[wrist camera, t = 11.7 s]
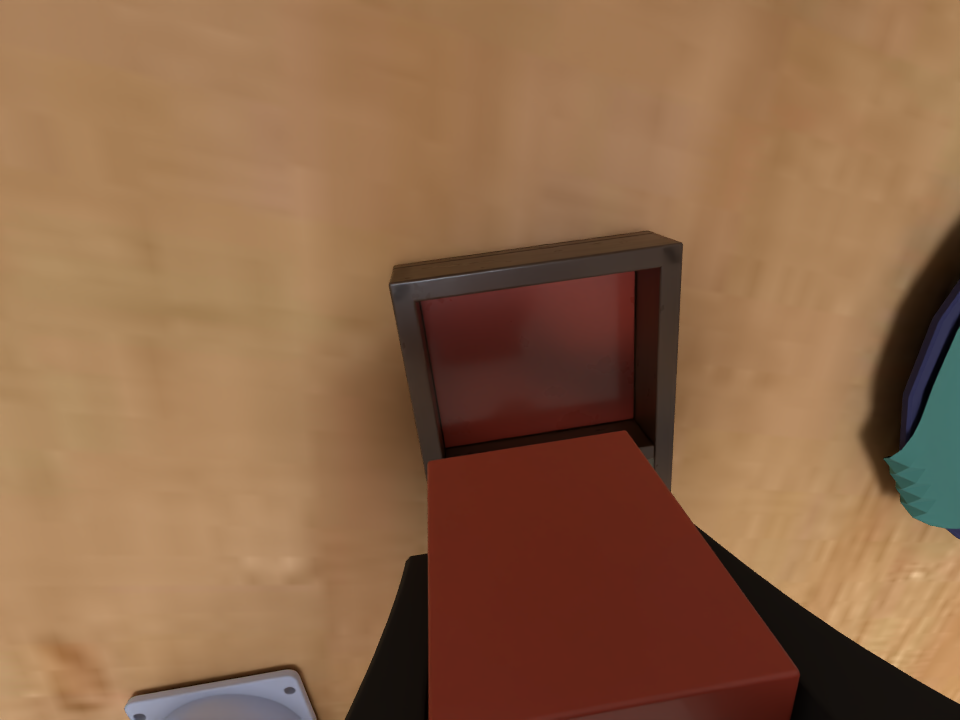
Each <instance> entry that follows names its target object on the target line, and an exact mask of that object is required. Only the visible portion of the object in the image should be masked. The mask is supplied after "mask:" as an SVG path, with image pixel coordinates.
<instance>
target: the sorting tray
mask: <svg viewBox="0 0 960 720" xmlns="http://www.w3.org/2000/svg"><path fill="white" fill-rule="evenodd" d="M682 250H683V244H682V242H679V241H676V240H673V239H670V238H667V237H664V236H661V235H658V234H656V233H653V232H650V231H644V232H637V233H630V234H623V235H615V236H608V237H601V238H593V239H586V240H579V241H571V242H564V243H557V244H550V245H542V246H535V247H528V248H520V249H513V250H506V251H498V252H491V253H484V254H477V255H469V256H462V257H455V258H447V259H440V260H433V261H425V262H418V263H411V264H404V265H396V266H394V267H393V272H392V275H391V279H390V282H389V289H390V294H391V299H392V304H393V309H394V315H395V320H396V325H397V330H398V335H399V340H400V345H401V351H402V356H403V361H404V366H405V371H406V376H407V381H408V387H409V392H410V397H411V402H412V407H413V412H414V418H415V423H416V428H417V433H418V438H419V443H420V448H421V454H422V459H423V464H424V469H425V474H426V479H427V464H428V462H429V461H432V460H438V459H445V458H451V457H457V456H464V455H470V454H477V453H483V452H489V451H496V450H502V449H508V448H515V447H521V446H527V445H534V444H540V443H547V442H553V441H559V440H566V439H572V438H578V437H585V436H591V435H598V434H604V433H610V432H617V431H623V430H625V431H627V432H628V434H629V435H630V436H631V438H632V439H633V441H634V442H635V443H636V445H637V446H638V448H639V449H640V450H641V452H642V453H643V454H644V456H645V457H646V459H647V460H648V461H649V463H650V464H651V466H652V467H653V468H654V470H655V471H656V472H657V474H658V475H659V477H660V478H661V479H662V481H663V482H664V484H665V485H666V486H667V488H668V489H669V491H670V492H671V477H672V456H673V435H674V415H675V394H676V374H677V353H678V332H679V312H680V291H681V271H682Z"/></svg>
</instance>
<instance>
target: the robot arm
mask: <svg viewBox="0 0 960 720" xmlns="http://www.w3.org/2000/svg"><path fill="white" fill-rule="evenodd" d="M694 525H695V524H694ZM695 527H696V528H697V529H698V531H699V532H700V534H701V535H702V536H703V538H704V539H705V540H706V542H707V543H708V545H709V546H710V547H711V549H712V550H713V552H714V553H715V554H716V556H717V557H718V558H719V560H720V561H721V563H722V564H723V565H724V567H725V568H726V570H727V571H728V572H729V574H730V575H731V577H732V578H733V579H734V581H735V582H736V583H737V585H738V586H739V588H740V589H741V590H742V592H743V593H744V595H745V596H746V597H747V599H748V600H749V602H750V603H751V604H752V606H753V607H754V608H755V610H756V611H757V613H758V614H759V615H760V617H761V618H762V620H763V621H764V622H765V624H766V625H767V626H768V628H769V629H770V631H771V632H772V633H773V635H774V636H775V638H776V639H777V640H778V642H779V643H780V645H781V646H782V647H783V649H784V650H785V651H786V653H787V654H788V656H789V657H790V658H791V660H792V661H793V663H794V664H795V665H796V667H797V668H798V670H799V673H800V678H799V683H798V687H797V692H796V696H795V701H794V705H793V710H792V714H791V719H790V720H960V704H958V703H957V702H955V701H953V700H951V699H949V698H947V697H946V696H944V695H942V694H940V693H939V692H937V691H935V690H933V689H932V688H930V687H928V686H926V685H925V684H923V683H921V682H919V681H918V680H916V679H914V678H912V677H911V676H909V675H908V674H906V673H904V672H903V671H901V670H899V669H898V668H896V667H894V666H893V665H891V664H889V663H888V662H886V661H885V660H883V659H881V658H880V657H878V656H876V655H875V654H873V653H871V652H870V651H868V650H866V649H865V648H863V647H862V646H860V645H859V644H857V643H855V642H854V641H852V640H851V639H849V638H848V637H846V636H845V635H843V634H842V633H840V632H838V631H837V630H836V629H834V628H833V627H831V626H830V625H828V624H827V623H825V622H824V621H822V620H821V619H819V618H818V617H816V616H815V615H814V614H812V613H811V612H809V611H808V610H806V609H805V608H803V607H802V606H801V605H799V604H798V603H796V602H795V601H794V600H792V599H791V598H789V597H788V596H787V595H785V594H784V593H782V592H781V591H780V590H778V589H777V588H776V587H774V586H773V585H772V584H770V583H769V582H768V581H766V580H765V579H764V578H762V577H761V576H760V575H758V574H757V573H756V572H754V571H753V570H752V569H750V568H749V567H748V566H746V565H745V564H744V563H743V562H741V561H740V560H739V559H737V558H736V557H735V556H734V555H732V554H731V553H730V552H729V551H727V550H726V549H725V548H723V547H722V546H721V545H720V544H718V543H717V542H716V541H715V540H713V539H712V538H711V537H710V536H708V535H707V534H706V533H705V532H703V531H702V530H701V529H700V528H698V527H697V526H696V525H695ZM124 709H125V712H126V713H127V715H128V717H129V718H130V720H317V718H316V716H315V713H314V711H313V708H312V706H311V703H310V701H309V698H308V696H307V693H306V691H305V688H304V686H303V683H302V681H301V678H300V676H299V674H298V673H297V672H296V671H295V670H291V669H286V670H280V671H275V672H269V673H263V674H258V675H252V676H246V677H240V678H235V679H229V680H223V681H218V682H212V683H206V684H200V685H195V686H189V687H183V688H178V689H172V690H166V691H160V692H155V693H149V694H143V695H138V696H134V697H131V698H130V699H129V700H128V702H127V704H126V706H125V708H124ZM345 720H428V554H422V555H416V556H410V558H409V559H408V560H407V561H406V563H405V567H404V572H403V575H402V579H401V582H400V585H399V589H398V592H397V595H396V598H395V601H394V604H393V607H392V609H391V612H390V615H389V618H388V621H387V623H386V626H385V628H384V631H383V633H382V636H381V638H380V641H379V643H378V646H377V648H376V651H375V654H374V656H373V658H372V661H371V663H370V666H369V668H368V670H367V672H366V675H365V677H364V679H363V681H362V683H361V686H360V688H359V690H358V692H357V694H356V696H355V699H354V701H353V703H352V705H351V707H350V710H349V712H348V714H347V716H346V718H345Z"/></svg>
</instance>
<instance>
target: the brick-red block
mask: <svg viewBox="0 0 960 720" xmlns="http://www.w3.org/2000/svg"><path fill="white" fill-rule="evenodd" d="M427 484H428V720H790V719H791V714H792V710H793V705H794V701H795V696H796V692H797V687H798V683H799V678H800V673H799V670H798V668H797V667H796V665H795V664H794V663H793V661H792V660H791V658H790V657H789V656H788V654H787V653H786V651H785V650H784V649H783V647H782V646H781V645H780V643H779V642H778V640H777V639H776V638H775V636H774V635H773V633H772V632H771V631H770V629H769V628H768V626H767V625H766V624H765V622H764V621H763V620H762V618H761V617H760V615H759V614H758V613H757V611H756V610H755V608H754V607H753V606H752V604H751V603H750V602H749V600H748V599H747V597H746V596H745V595H744V593H743V592H742V590H741V589H740V588H739V586H738V585H737V583H736V582H735V581H734V579H733V578H732V577H731V575H730V574H729V572H728V571H727V570H726V568H725V567H724V565H723V564H722V563H721V561H720V560H719V558H718V557H717V556H716V554H715V553H714V552H713V550H712V549H711V547H710V546H709V545H708V543H707V542H706V540H705V539H704V538H703V536H702V535H701V534H700V532H699V531H698V529H697V528H696V527H695V525H694V524H693V522H692V521H691V520H690V518H689V517H688V515H687V514H686V513H685V511H684V510H683V509H682V507H681V506H680V504H679V503H678V502H677V500H676V499H675V497H674V496H673V495H672V493H671V492H670V491H669V489H668V488H667V486H666V485H665V484H664V482H663V481H662V479H661V478H660V477H659V475H658V474H657V472H656V471H655V470H654V468H653V467H652V466H651V464H650V463H649V461H648V460H647V459H646V457H645V456H644V454H643V453H642V452H641V450H640V449H639V448H638V446H637V445H636V443H635V442H634V441H633V439H632V438H631V436H630V435H629V434H628V432H627V431H625V430H623V431H617V432H610V433H604V434H598V435H591V436H585V437H578V438H572V439H566V440H559V441H553V442H547V443H540V444H534V445H527V446H521V447H515V448H508V449H502V450H496V451H489V452H483V453H477V454H470V455H464V456H457V457H451V458H445V459H438V460H432V461H429V462H428V464H427Z"/></svg>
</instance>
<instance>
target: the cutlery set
mask: <svg viewBox="0 0 960 720" xmlns="http://www.w3.org/2000/svg"><path fill="white" fill-rule="evenodd" d="M883 459H884V460H885V461H886V462H887V464H888V465H889V470H890V474H891V476H892V477H893V478H894V480H895V481H896V487H895V488H896V489H897V491H898V492H899V493H900V502H901V504H902V505H903V506H904V507H905V509H906V510H907V511H908V512H909V513H910V515H911V516H912V517H913V518H915V519H917V520H919V521H922V522H924V523H926V524H928V525H931V526H936V527H941V528H946V529H947V530H948V531H949V532H950V533H952V534H953V535H954V536H955V537H956V538H958V539H960V279H959V281H958V282H957V284H956V285H955V287H954V288H953V290H952V291H951V292H950V294H949V295H948V297H947V298H946V300H945V301H944V302H943V304H942V305H941V307H940V308H939V310H938V311H937V312H936V314H935V315H934V317H933V318H932V321H931V323H930V326H929V328H928V331H927V334H926V336H925V339H924V341H923V344H922V346H921V349H920V351H919V354H918V357H917V359H916V362H915V364H914V367H913V369H912V372H911V374H910V377H909V379H908V382H907V385H906V387H905V390H904V392H903V399H902V415H901V430H900V446H899V452H898V453H896V454H895V455H893V456H888V457H885V458H883Z"/></svg>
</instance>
